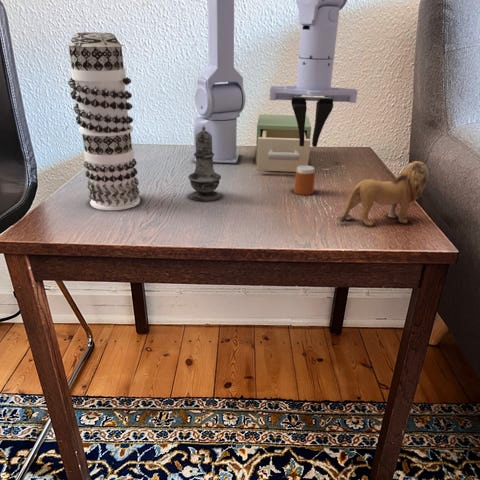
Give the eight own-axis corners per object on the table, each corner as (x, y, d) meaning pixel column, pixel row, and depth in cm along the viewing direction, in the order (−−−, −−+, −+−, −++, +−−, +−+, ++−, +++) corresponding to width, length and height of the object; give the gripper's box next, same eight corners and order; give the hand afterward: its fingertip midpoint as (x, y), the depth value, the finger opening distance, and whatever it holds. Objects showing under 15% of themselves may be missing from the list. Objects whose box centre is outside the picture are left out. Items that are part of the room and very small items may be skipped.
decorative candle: (112, 190, 86) (91, 31, 72) (153, 199, 83) (139, 33, 69) (76, 204, 79) (45, 32, 66) (119, 214, 76) (96, 34, 62)
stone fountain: (225, 193, 86) (226, 124, 79) (214, 203, 81) (213, 130, 75) (196, 189, 88) (194, 121, 81) (183, 199, 83) (179, 127, 76)
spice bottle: (294, 194, 86) (296, 169, 84) (293, 188, 89) (295, 164, 87) (313, 195, 86) (316, 170, 84) (312, 189, 89) (315, 165, 87)
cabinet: (307, 165, 104) (311, 126, 99) (255, 163, 104) (257, 125, 100) (304, 151, 115) (307, 115, 111) (257, 149, 116) (259, 114, 111)
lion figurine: (406, 210, 80) (418, 156, 75) (426, 221, 76) (440, 165, 71) (331, 219, 76) (338, 163, 71) (348, 231, 72) (357, 172, 67)
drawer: (308, 178, 92) (311, 145, 89) (256, 176, 93) (257, 143, 89) (304, 157, 106) (307, 127, 103) (259, 155, 107) (260, 126, 103)
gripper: (271, 58, 73) (266, 149, 80) (365, 61, 72) (351, 152, 79) (271, 55, 79) (267, 140, 86) (358, 58, 78) (346, 142, 85)
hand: (307, 145), depth 83 cm, fingers closed
